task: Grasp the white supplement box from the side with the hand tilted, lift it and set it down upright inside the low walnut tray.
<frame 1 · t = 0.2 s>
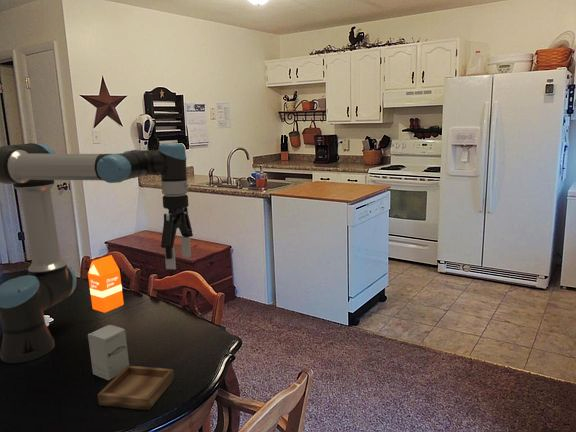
hand: (179, 262, 142), 27 cm above the table, tool pointing down, fingers open, 13 cm apart
tray: (138, 391, 122), on the table
wall sconce: (57, 295, 194), on the table
supplement box: (111, 372, 132), on the table
orange juice: (108, 307, 179), on the table
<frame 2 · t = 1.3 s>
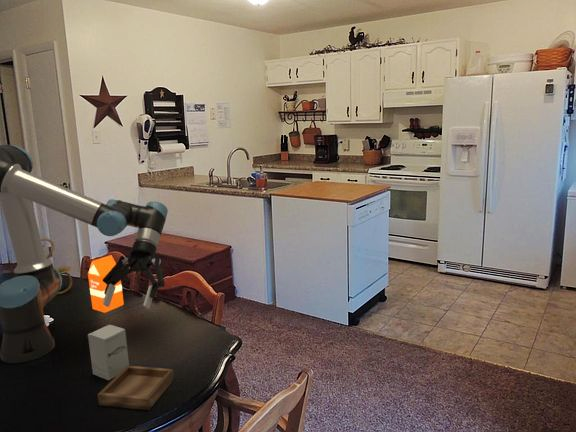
hand: (125, 306, 139), 16 cm above the table, tool tilted 45°, fingers open, 13 cm apart
nothing on the table moved.
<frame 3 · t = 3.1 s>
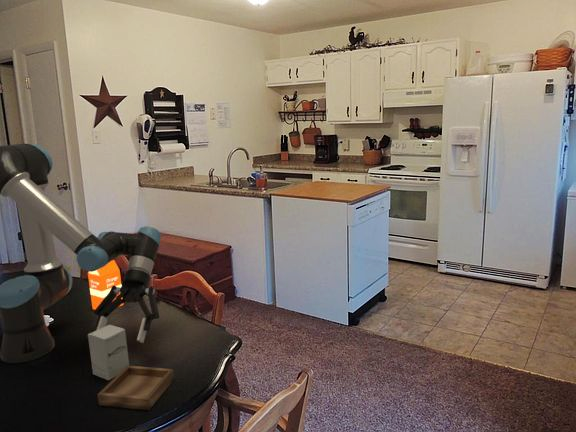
hand: (118, 340, 132), 9 cm above the table, tool tilted 45°, fingers open, 13 cm apart
nothing on the table moved.
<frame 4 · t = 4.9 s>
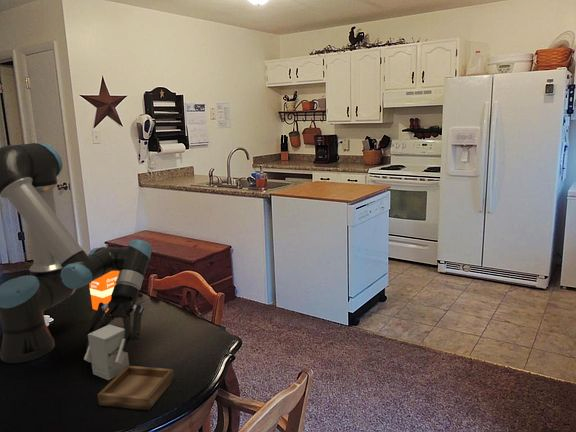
hand: (103, 362, 128), 5 cm above the table, tool tilted 45°, fingers closed on supplement box, 9 cm apart
supplement box: (111, 372, 132), on the table, touching gripper
everything else where it was.
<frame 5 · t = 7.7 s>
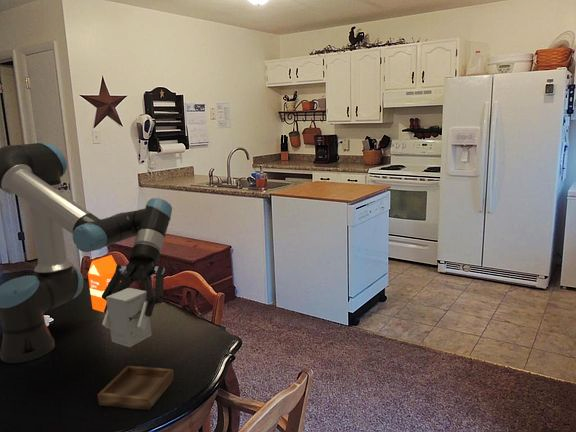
hand: (123, 327, 115), 19 cm above the table, tool tilted 45°, fingers closed on supplement box, 9 cm apart
supplement box: (132, 339, 120), point 14 cm above the table, touching gripper
everything else where it was.
when the fingers open (7 cm above the table, at t = 10.5 s): supplement box drops 1 cm, resting on tray.
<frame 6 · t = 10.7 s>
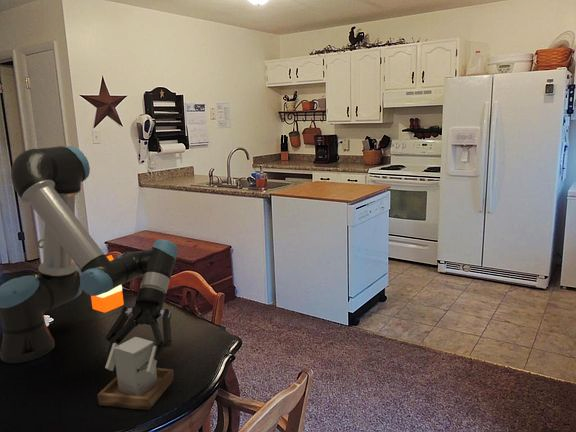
hand: (129, 371, 117), 8 cm above the table, tool tilted 45°, fingers open, 11 cm apart
supplement box: (138, 388, 121), point 1 cm above the table, touching tray
everything else where it was.
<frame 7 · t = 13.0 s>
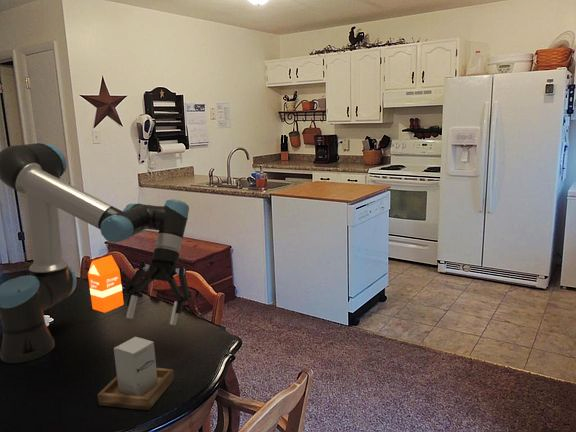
hand: (150, 321, 132), 14 cm above the table, tool tilted 30°, fingers open, 13 cm apart
nothing on the table moved.
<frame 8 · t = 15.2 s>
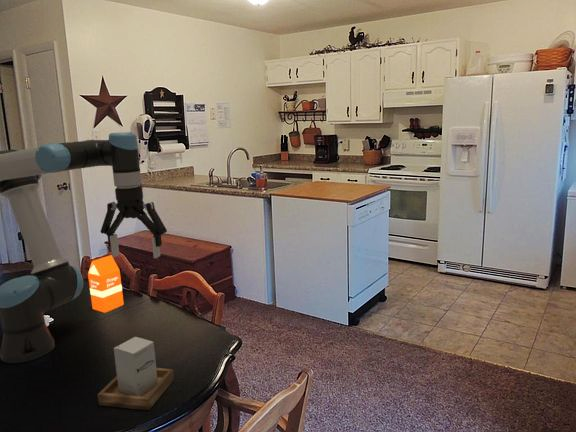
hand: (136, 256, 137), 31 cm above the table, tool pointing down, fingers open, 13 cm apart
nothing on the table moved.
at the end: supplement box inside the target area on the tray (0.2 cm from its centre), point 0.8 cm above the tray's base; supplement box tilted 0°; the gripper is holding nothing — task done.
